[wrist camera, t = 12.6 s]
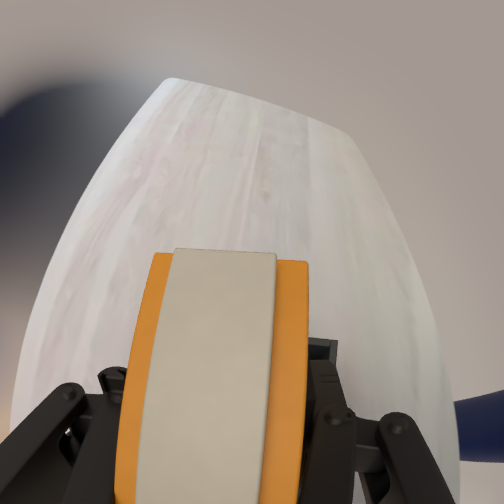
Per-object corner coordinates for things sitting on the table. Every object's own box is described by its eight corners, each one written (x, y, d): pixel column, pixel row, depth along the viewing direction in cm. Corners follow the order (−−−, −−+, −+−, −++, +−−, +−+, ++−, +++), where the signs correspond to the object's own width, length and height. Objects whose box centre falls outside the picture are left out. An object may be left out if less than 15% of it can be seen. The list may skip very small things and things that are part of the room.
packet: (280, 355, 17) (312, 246, 6) (271, 459, 13) (293, 555, 3) (217, 350, 17) (146, 238, 7) (206, 453, 14) (100, 517, 3)
